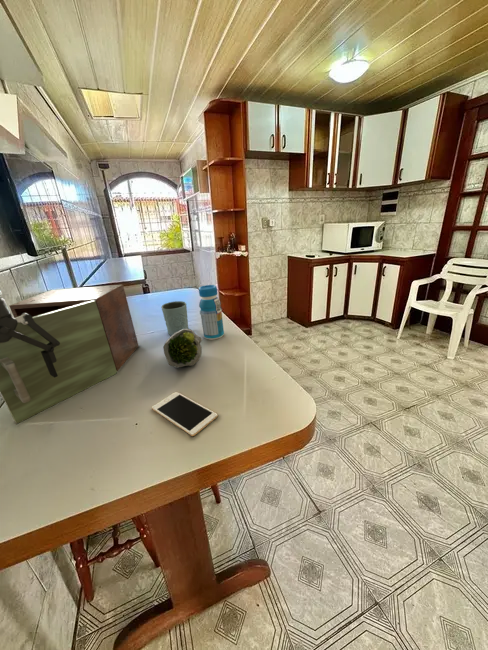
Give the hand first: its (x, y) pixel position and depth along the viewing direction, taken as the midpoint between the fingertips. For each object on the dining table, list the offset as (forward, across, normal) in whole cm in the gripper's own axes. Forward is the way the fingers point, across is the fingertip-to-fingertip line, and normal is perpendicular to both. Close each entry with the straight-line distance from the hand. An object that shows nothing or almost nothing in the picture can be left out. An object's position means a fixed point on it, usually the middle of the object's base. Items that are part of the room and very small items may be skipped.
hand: (21, 390), depth 61 cm
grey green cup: (+11, -56, -13) cm, 59 cm away
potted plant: (+11, -39, +11) cm, 42 cm away
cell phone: (+10, -22, +28) cm, 37 cm away
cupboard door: (+10, -10, -3) cm, 15 cm away
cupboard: (+10, -24, -22) cm, 35 cm away
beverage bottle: (+11, -60, +4) cm, 61 cm away
